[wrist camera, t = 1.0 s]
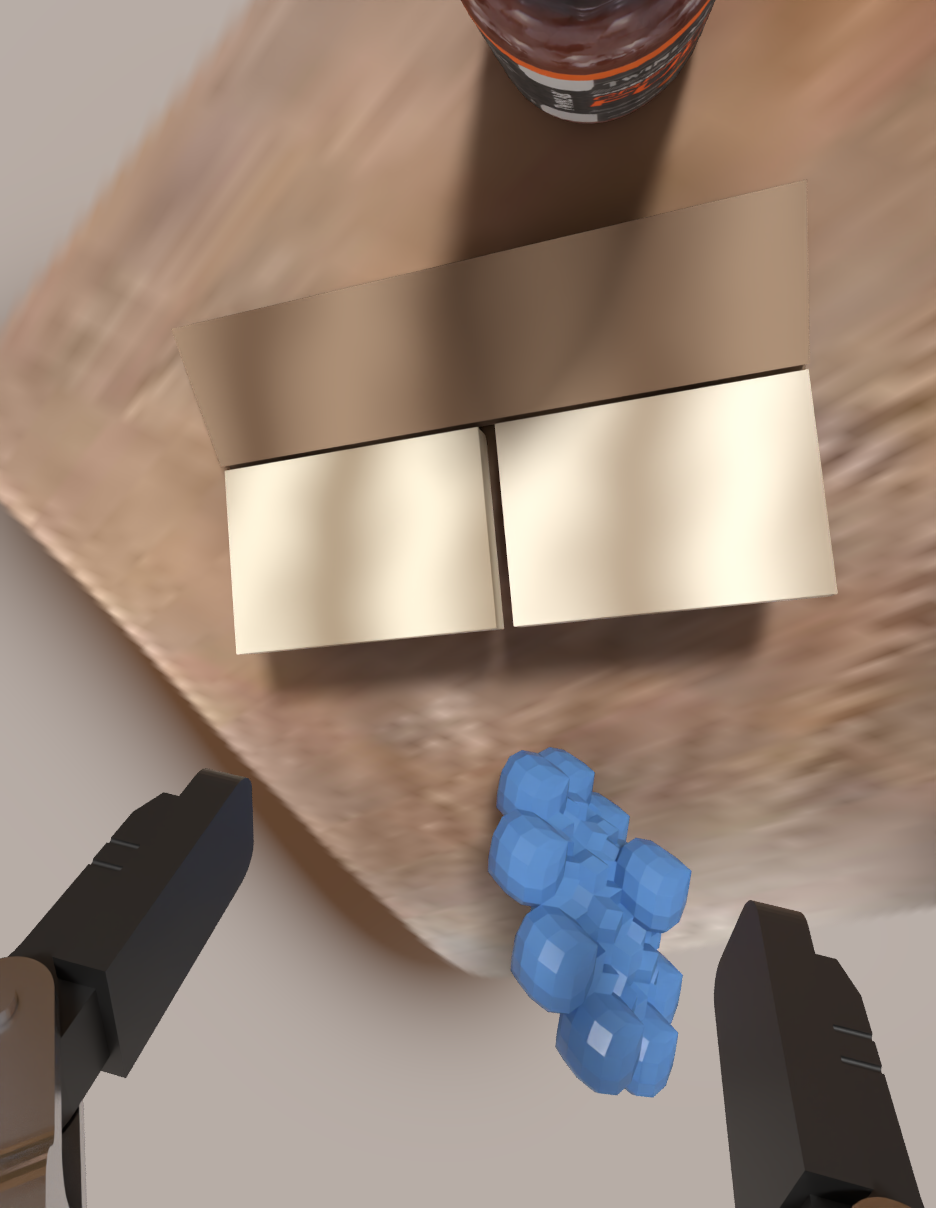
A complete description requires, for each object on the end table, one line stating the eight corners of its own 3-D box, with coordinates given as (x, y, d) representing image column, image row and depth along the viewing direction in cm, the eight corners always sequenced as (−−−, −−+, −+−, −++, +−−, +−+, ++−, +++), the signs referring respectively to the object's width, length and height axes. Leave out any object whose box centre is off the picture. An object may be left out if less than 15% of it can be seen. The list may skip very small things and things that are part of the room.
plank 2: (801, 382, 24) (808, 369, 23) (829, 596, 23) (837, 593, 22) (502, 433, 26) (494, 423, 25) (520, 627, 26) (513, 626, 25)
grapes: (741, 857, 33) (798, 1150, 23) (610, 899, 36) (605, 1178, 25) (611, 663, 30) (607, 900, 19) (477, 725, 32) (408, 963, 22)
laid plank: (797, 181, 21) (807, 179, 20) (801, 366, 24) (809, 373, 23) (188, 325, 27) (171, 329, 26) (238, 465, 29) (223, 474, 28)
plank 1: (486, 436, 26) (477, 426, 25) (503, 628, 26) (496, 628, 25) (242, 477, 29) (224, 470, 28) (254, 653, 28) (236, 654, 27)
